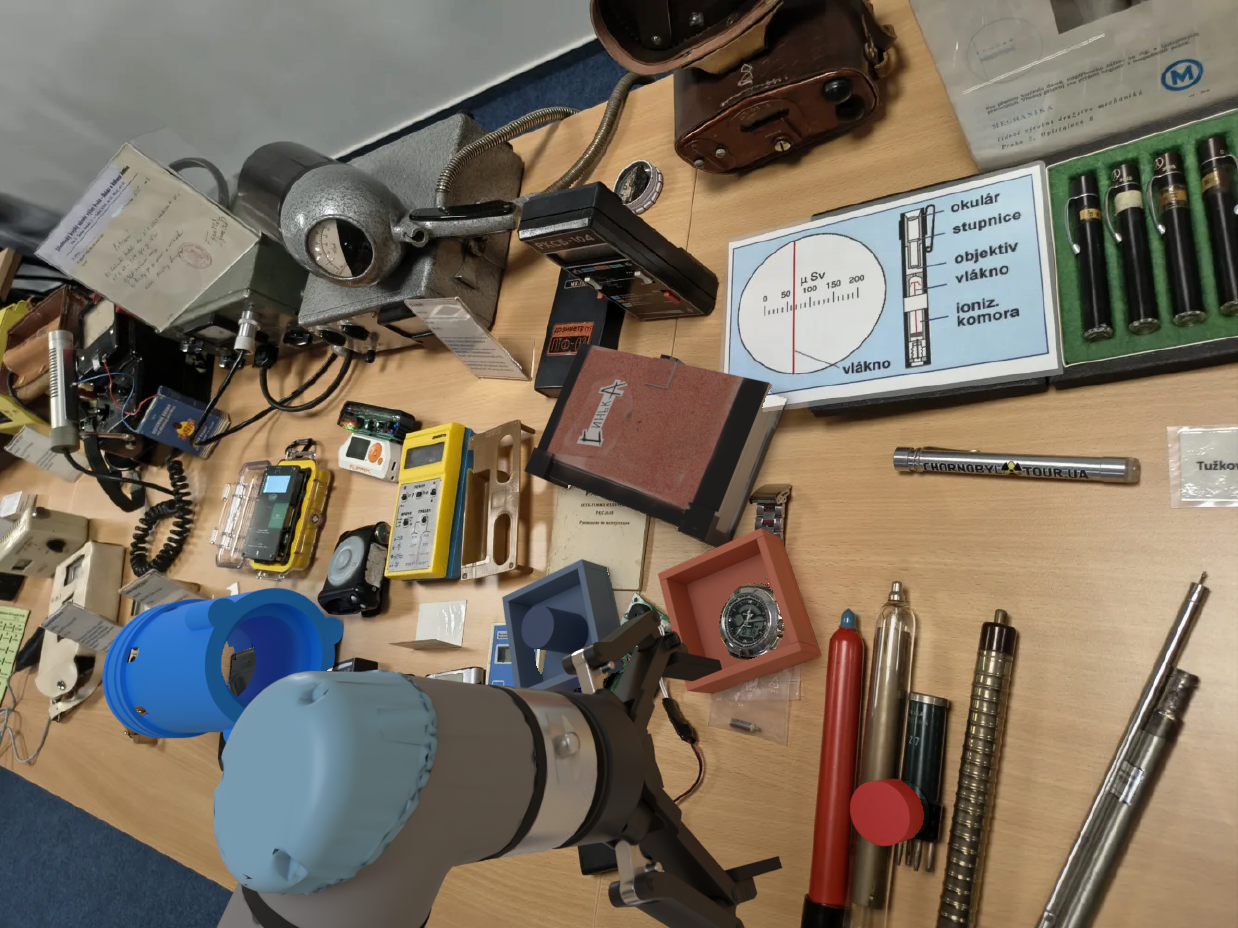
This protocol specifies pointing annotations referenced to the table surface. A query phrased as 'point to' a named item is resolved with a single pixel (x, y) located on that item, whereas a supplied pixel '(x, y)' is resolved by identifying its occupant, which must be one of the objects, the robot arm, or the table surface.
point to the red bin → (707, 587)
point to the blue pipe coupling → (211, 659)
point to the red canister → (886, 812)
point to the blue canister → (554, 630)
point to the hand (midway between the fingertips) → (733, 762)
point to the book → (658, 439)
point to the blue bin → (569, 591)
